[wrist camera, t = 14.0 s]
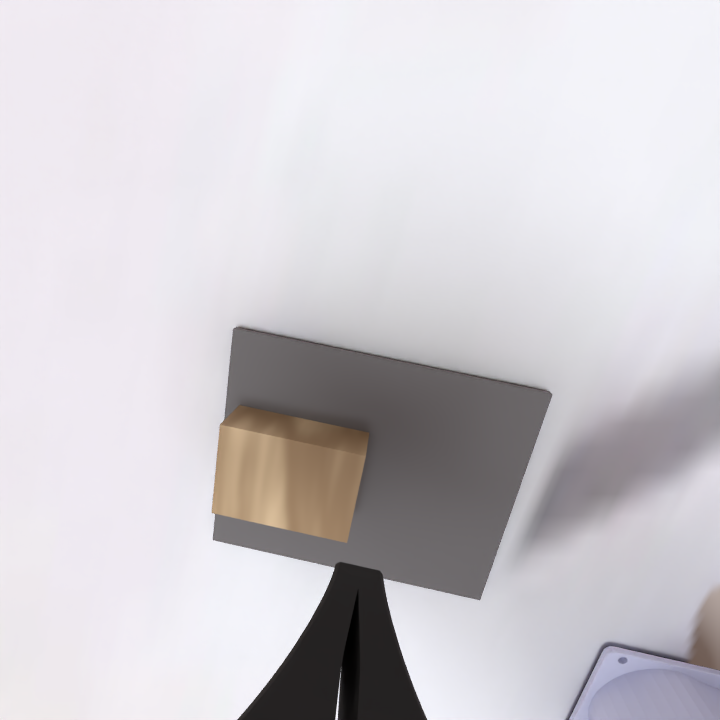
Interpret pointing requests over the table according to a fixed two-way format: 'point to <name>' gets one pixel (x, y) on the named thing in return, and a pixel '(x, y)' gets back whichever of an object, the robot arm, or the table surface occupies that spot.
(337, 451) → the block
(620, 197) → the table surface
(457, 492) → the mat
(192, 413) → the table surface
